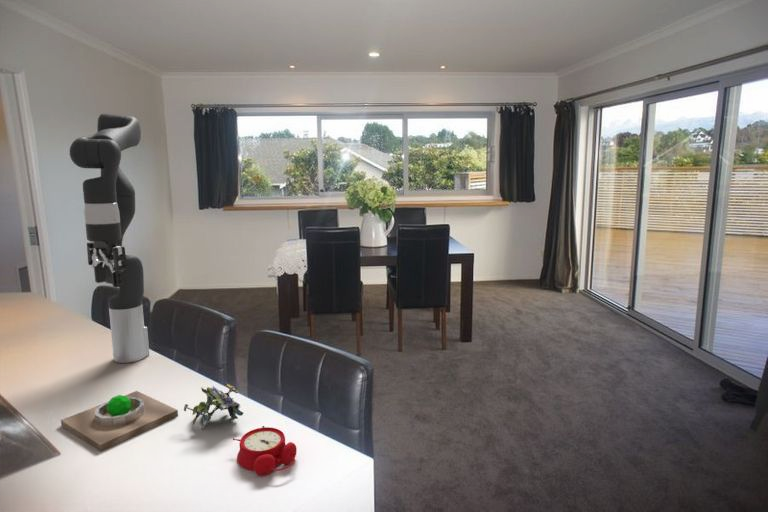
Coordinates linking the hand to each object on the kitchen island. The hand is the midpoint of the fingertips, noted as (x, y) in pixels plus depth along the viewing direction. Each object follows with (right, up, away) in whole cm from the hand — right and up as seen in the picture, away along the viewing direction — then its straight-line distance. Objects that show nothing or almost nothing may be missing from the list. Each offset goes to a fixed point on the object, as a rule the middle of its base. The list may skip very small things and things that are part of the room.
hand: (109, 284), depth 120 cm
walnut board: (+8, -32, -8) cm, 34 cm away
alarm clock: (+46, -35, -22) cm, 62 cm away
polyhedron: (+8, -31, -8) cm, 33 cm away
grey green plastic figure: (+30, -33, -9) cm, 45 cm away
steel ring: (+8, -31, -8) cm, 33 cm away
